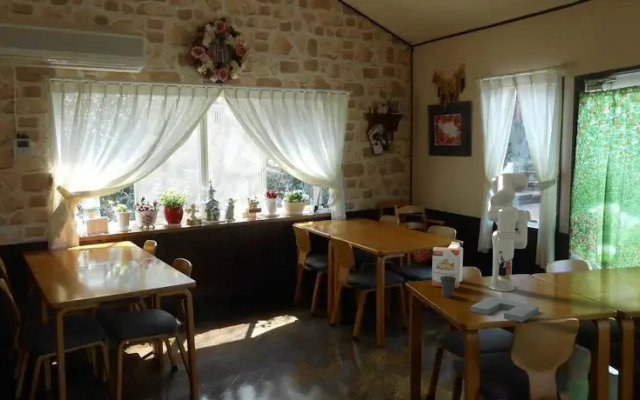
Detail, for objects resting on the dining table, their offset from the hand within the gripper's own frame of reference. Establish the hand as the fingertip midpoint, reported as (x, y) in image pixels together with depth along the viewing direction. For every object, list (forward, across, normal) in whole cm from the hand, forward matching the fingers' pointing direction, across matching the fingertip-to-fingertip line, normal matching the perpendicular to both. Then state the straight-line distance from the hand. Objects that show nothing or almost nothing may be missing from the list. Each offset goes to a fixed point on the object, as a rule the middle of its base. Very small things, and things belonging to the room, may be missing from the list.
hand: (504, 274), depth 261 cm
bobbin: (+2, 0, 0) cm, 2 cm away
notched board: (+17, 0, +1) cm, 17 cm away
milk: (+18, -37, -45) cm, 60 cm away
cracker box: (+18, -23, -43) cm, 51 cm away
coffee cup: (+18, -7, -32) cm, 38 cm away
